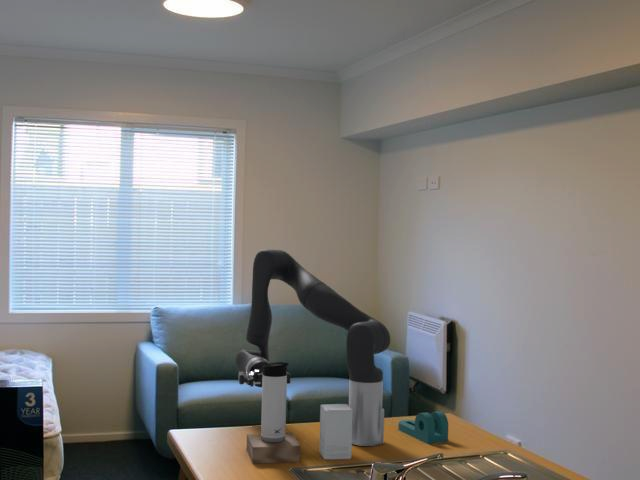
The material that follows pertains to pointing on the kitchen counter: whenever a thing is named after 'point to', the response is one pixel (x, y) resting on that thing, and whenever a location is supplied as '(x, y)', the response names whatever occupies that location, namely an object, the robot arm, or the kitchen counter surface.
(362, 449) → the kitchen counter surface
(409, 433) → the bracket
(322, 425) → the supplement box
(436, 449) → the kitchen counter surface
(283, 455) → the walnut plinth
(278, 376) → the travel mug
